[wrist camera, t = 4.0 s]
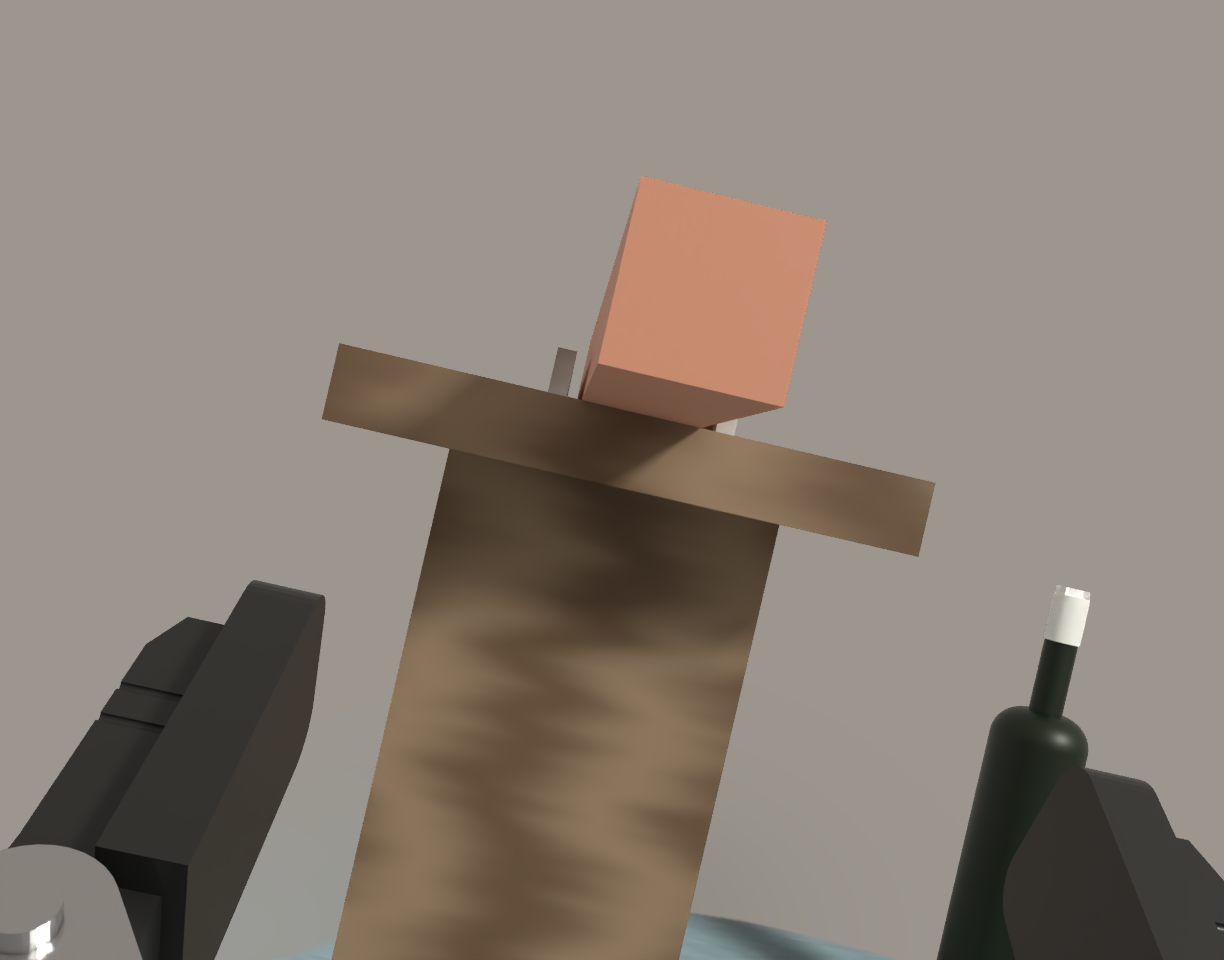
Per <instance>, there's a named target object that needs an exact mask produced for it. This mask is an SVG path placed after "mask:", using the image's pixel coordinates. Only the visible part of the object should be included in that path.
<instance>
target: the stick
mask: <svg viewBox="0 0 1224 960" xmlns="http://www.w3.org/2000/svg"><path fill="white" fill-rule="evenodd" d="M825 227H826V221H824V220H820V219H816V218H812V217H807V216H804V215H799V214H795V213H791V212H787V211H783V210H779V209H775V208H771V207H767V206H763V205H759V204H754V203H750V202H746V201H742V200H738V199H734V198H730V197H726V196H722V195H718V194H713V193H710V192H706V191H701V190H697V189H693V188H689V187H685V186H681V185H677V184H673V183H669V182H665V181H661V180H657V179H652V178H649V177H644V176H641V178H640V181H639V185H638V188H637V192H636V195H635V198H634V201H633V205H632V208H631V211H630V214H629V218H628V221H627V224H626V228H625V231H624V234H623V237H622V240H621V244H620V247H619V250H618V254H617V257H616V260H615V263H614V267H613V270H612V273H611V276H610V280H609V283H608V286H607V290H606V293H605V296H604V300H603V303H602V306H601V309H600V313H599V316H598V319H597V322H596V326H595V329H594V332H593V335H592V339H591V342H590V347H589V351H588V355H587V360H586V364H585V368H584V372H583V377H582V381H581V385H580V390H579V394H578V399H579V400H583V401H587V402H592V403H596V404H600V405H605V406H609V407H613V408H617V409H622V410H626V411H630V412H634V413H639V414H643V415H647V416H651V417H656V418H660V419H664V420H669V421H673V422H677V423H681V424H686V425H690V426H694V427H698V428H703V427H707V426H711V425H715V424H719V423H723V422H727V421H731V420H735V419H739V418H743V417H747V416H751V415H755V414H759V413H762V412H767V411H771V410H775V409H778V408H782V407H784V404H785V400H786V395H787V391H788V387H789V382H790V378H791V373H792V369H793V365H794V360H795V356H796V352H797V348H798V343H799V339H800V334H801V330H802V326H803V322H804V317H805V313H806V309H807V304H808V300H809V296H810V291H811V287H812V283H813V278H814V274H815V270H816V265H817V261H818V257H819V253H820V248H821V243H822V240H823V235H824V230H825Z"/></svg>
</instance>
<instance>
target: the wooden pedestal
mask: <svg viewBox="0 0 1224 960" xmlns="http://www.w3.org/2000/svg"><path fill="white" fill-rule="evenodd" d="M576 353H577V352H576V351H572V350H568V349H563V348H558V351H557V355H556V359H555V364H554V368H553V372H552V377H551V381H550V385H549V390H548V392H545V391H540V390H536V389H532V388H528V387H523V386H519V385H515V384H510V383H506V382H502V381H498V380H494V379H489V378H485V377H481V376H477V375H472V374H468V373H464V372H459V371H455V370H451V369H447V368H442V367H438V366H434V365H429V364H425V363H421V362H417V361H412V360H408V359H404V358H400V357H395V356H391V355H387V354H382V353H378V352H374V351H369V350H366V349H361V348H357V347H352V346H349V345H344V344H339V347H338V351H337V356H336V360H335V364H334V369H333V373H332V377H331V382H330V386H329V390H328V395H327V399H326V403H325V408H324V413H323V416H322V419H324V420H328V421H332V422H337V423H341V424H345V425H350V426H354V427H358V428H363V429H368V430H371V431H376V432H380V433H384V434H389V435H393V436H398V437H402V438H406V439H410V440H415V441H419V442H424V443H428V444H432V445H436V446H441V447H445V448H449V453H448V458H447V462H446V467H445V471H444V475H443V479H442V484H441V488H440V492H439V497H438V501H437V505H436V510H435V514H434V518H433V523H432V527H431V531H430V536H429V540H428V545H427V549H426V553H425V557H424V562H423V566H422V570H421V575H420V579H419V583H418V588H417V592H416V596H415V601H414V605H413V609H412V614H411V618H410V622H409V627H408V631H407V636H406V640H405V644H404V648H403V652H402V657H401V661H400V666H399V670H398V674H397V679H396V683H395V688H394V692H393V696H392V700H391V704H390V709H389V713H388V717H387V722H386V726H385V731H384V735H383V739H382V743H381V748H380V752H379V757H378V761H377V765H376V769H375V774H374V778H373V782H372V787H371V792H370V796H369V800H368V804H367V808H366V813H365V817H364V822H363V826H362V830H361V834H360V839H359V843H358V848H357V852H356V856H355V860H354V865H353V869H352V873H351V878H350V882H349V886H348V891H347V896H346V899H345V904H344V908H343V912H342V917H341V921H340V925H339V930H338V934H337V938H336V943H335V947H334V951H333V956H332V960H679V956H680V952H681V948H682V943H683V939H684V935H685V930H686V926H687V922H688V917H689V913H690V909H691V904H692V900H693V896H694V891H695V887H696V882H697V878H698V874H699V870H700V865H701V861H702V857H703V852H704V848H705V844H706V839H707V835H708V830H709V827H710V822H711V818H712V814H713V809H714V805H715V801H716V796H717V791H718V788H719V783H720V779H721V774H722V770H723V766H724V762H725V757H726V753H727V749H728V744H729V740H730V735H731V731H732V727H733V723H734V718H735V714H736V710H737V705H738V701H739V697H740V692H741V688H742V684H743V679H744V675H745V670H746V666H747V662H748V658H749V653H750V649H751V645H752V640H753V636H754V632H755V627H756V623H757V619H758V615H759V610H760V606H761V602H762V597H763V593H764V588H765V584H766V580H767V576H768V571H769V567H770V562H771V558H772V554H773V549H774V545H775V541H776V536H777V532H778V528H779V525H784V526H788V527H792V528H796V529H801V530H805V531H809V532H813V533H818V534H822V535H826V536H831V537H835V538H840V539H844V540H849V541H853V542H857V543H861V544H865V545H870V546H874V547H878V548H883V549H887V550H892V551H896V552H900V553H905V554H909V555H914V556H919V551H920V547H921V543H922V538H923V534H924V530H925V525H926V521H927V517H928V512H929V508H930V503H931V499H932V494H933V491H934V486H935V483H933V482H929V481H925V480H920V479H916V478H912V477H907V476H903V475H899V474H895V473H890V472H886V471H882V470H877V469H873V468H869V467H865V466H861V465H856V464H852V463H848V462H844V461H839V460H835V459H830V458H826V457H822V456H818V455H814V454H809V453H805V452H801V451H796V450H792V449H788V448H784V447H780V446H775V445H771V444H767V443H762V442H758V441H753V440H750V439H745V438H741V437H737V436H734V434H735V430H736V425H737V421H738V419H735V420H731V421H727V422H723V423H719V424H715V425H711V426H707V427H703V428H698V427H694V426H690V425H686V424H681V423H677V422H673V421H669V420H664V419H660V418H656V417H651V416H647V415H643V414H639V413H634V412H630V411H626V410H622V409H617V408H613V407H609V406H605V405H600V404H596V403H592V402H587V401H583V400H579V399H574V398H570V397H567V396H568V391H569V387H570V382H571V377H572V373H573V368H574V363H575V359H576Z"/></svg>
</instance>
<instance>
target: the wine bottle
mask: <svg viewBox="0 0 1224 960" xmlns="http://www.w3.org/2000/svg"><path fill="white" fill-rule="evenodd" d="M1090 594H1091V593H1089V592H1085V591H1081V590H1077V589H1072V588H1068V587H1064V586H1059V585H1057V587H1056V592H1054V594H1053V598H1052V603H1051V607H1050V611H1049V616H1048V620H1047V624H1046V628H1045V633H1044V638H1045V640H1044V644H1043V649H1042V653H1041V657H1040V662H1039V666H1038V670H1037V674H1036V679H1035V684H1034V687H1033V692H1032V696H1031V700H1030V705H1029V707H1027V706H1016V707H1011V708H1008V709H1006V710H1004V711H1002V712H1001V713H1000V714H998V715H997V717H996V718H995V719H994V721H993V723H992V725H991V728H990V732H989V736H988V741H987V745H986V749H985V754H984V758H983V762H982V767H981V771H980V775H979V779H978V784H977V788H976V793H975V797H974V801H973V805H972V810H971V814H970V819H969V823H968V827H967V831H966V836H965V840H964V844H963V849H962V853H961V857H960V862H959V866H958V870H957V875H956V879H955V883H954V887H953V892H952V896H951V900H950V905H949V909H948V913H947V918H946V922H945V926H944V931H943V935H942V939H941V944H940V948H939V952H938V957H937V960H1015V957H1014V953H1013V949H1012V945H1011V942H1010V938H1009V934H1008V931H1007V927H1006V923H1005V918H1004V911H1003V891H1004V883H1005V878H1006V874H1007V871H1008V868H1009V865H1010V862H1011V861H1012V859H1013V857H1014V855H1015V853H1016V851H1017V850H1018V848H1019V846H1020V845H1021V843H1022V841H1023V839H1024V838H1025V836H1026V834H1027V832H1028V831H1029V829H1030V827H1031V826H1032V824H1033V822H1034V820H1035V819H1036V817H1037V815H1038V814H1039V812H1040V810H1041V808H1042V807H1043V805H1044V803H1045V801H1046V800H1047V798H1048V796H1049V795H1050V793H1051V791H1052V789H1053V788H1054V786H1055V784H1056V782H1057V781H1058V779H1059V778H1060V776H1061V775H1062V774H1063V773H1064V772H1065V770H1067V769H1068V768H1070V767H1073V766H1080V767H1084V768H1085V765H1086V760H1087V756H1088V743H1087V739H1086V737H1085V735H1084V733H1083V731H1082V730H1081V729H1080V727H1079V726H1078V725H1077V724H1075V723H1074V722H1073V721H1071V720H1070V719H1068V718H1066V717H1064V716H1062V713H1063V709H1064V705H1065V701H1066V696H1067V692H1068V687H1069V683H1070V679H1071V675H1072V670H1073V666H1074V662H1075V657H1076V653H1077V648H1078V647H1080V643H1081V639H1082V635H1083V630H1084V626H1085V622H1086V617H1087V613H1088V609H1089V604H1090V600H1089V598H1090Z"/></svg>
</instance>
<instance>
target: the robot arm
mask: <svg viewBox="0 0 1224 960" xmlns="http://www.w3.org/2000/svg"><path fill="white" fill-rule="evenodd" d="M324 615H325V597H324V596H323V595H319V594H315V593H310V592H306V591H301V590H297V589H292V588H288V587H283V586H279V585H275V584H270V583H266V582H261V581H257V580H253V581H252V582H251V583H250V584H249V585H248V586H247V588H246V589H245V591H244V592H243V594H242V596H241V598H240V599H239V601H238V603H237V604H236V606H235V608H234V610H233V611H232V613H231V615H230V616H229V618H228V620H227V621H226V623H225V625H222V624H217V623H212V622H208V621H204V620H199V619H195V618H190V617H187V618H186V619H184V620H183V621H181V622H179V623H178V624H176V625H175V626H173V627H172V628H170V629H169V630H167V631H166V632H164V633H163V634H161V635H160V636H158V637H157V638H155V639H153V640H152V641H150V642H149V643H147V644H146V645H145V647H144V648H143V650H142V651H141V653H140V654H139V656H138V657H137V659H136V660H135V662H134V663H133V665H132V666H131V668H130V669H129V671H128V672H127V674H126V675H125V677H124V678H123V680H122V681H121V685H120V688H119V689H116V690H115V692H114V693H113V695H112V696H111V698H110V699H109V701H108V702H107V704H106V705H105V707H104V708H103V710H102V711H101V715H100V718H99V720H95V722H94V723H93V725H92V726H91V728H90V729H89V731H88V732H87V734H86V735H85V737H84V738H83V740H82V741H81V743H80V744H79V746H78V747H77V749H76V750H75V752H74V753H73V755H72V756H71V758H70V759H69V761H68V762H67V764H66V765H65V767H64V768H63V770H62V771H61V773H60V774H59V776H58V777H57V779H56V780H55V782H54V783H53V785H52V786H51V788H50V789H49V791H48V792H47V794H46V795H45V797H44V798H43V800H42V801H41V803H40V804H39V806H38V807H37V809H36V810H35V812H34V813H33V815H32V816H31V818H30V819H29V821H28V822H27V824H26V825H25V827H24V828H23V830H22V831H21V833H20V834H19V835H18V837H17V838H16V839H15V840H14V842H13V843H12V844H11V846H10V847H9V848H8V849H4V850H2V851H0V960H214V959H215V956H216V954H217V952H218V949H219V947H220V944H221V942H222V940H223V938H224V935H225V933H226V931H227V928H228V926H229V924H230V921H231V919H232V916H233V914H234V912H235V909H236V907H237V905H238V902H239V900H240V897H241V895H242V893H243V890H244V888H245V886H246V883H247V881H248V879H249V876H250V874H251V872H252V869H253V867H254V865H255V862H256V860H257V858H258V855H259V853H260V851H261V848H262V846H263V844H264V841H265V839H266V836H267V834H268V832H269V829H270V827H271V825H272V822H273V820H274V818H275V815H276V813H277V811H278V808H279V806H280V804H281V801H282V799H283V796H284V794H285V792H286V789H287V787H288V785H289V782H290V780H291V778H292V775H293V772H294V770H295V768H296V766H297V763H298V760H299V758H300V755H301V752H302V749H303V745H304V742H305V739H306V735H307V732H308V728H309V723H310V719H311V714H312V709H313V701H314V694H315V686H316V678H317V670H318V662H319V654H320V646H321V639H322V631H323V623H324ZM1003 911H1004V918H1005V923H1006V927H1007V931H1008V934H1009V938H1010V942H1011V945H1012V949H1013V953H1014V957H1015V960H1224V881H1223V879H1222V878H1221V877H1220V876H1219V875H1218V874H1217V872H1216V871H1215V870H1214V869H1213V868H1212V867H1211V866H1210V864H1209V863H1208V862H1207V861H1206V860H1205V859H1204V857H1202V855H1201V854H1200V853H1199V852H1198V851H1197V850H1196V848H1195V847H1194V846H1193V845H1192V844H1191V843H1190V841H1188V840H1184V839H1179V838H1176V837H1175V834H1174V832H1173V830H1172V828H1171V826H1170V823H1169V821H1168V819H1167V817H1166V815H1165V812H1164V810H1163V808H1162V806H1161V804H1160V802H1159V799H1158V797H1157V795H1156V793H1155V792H1154V790H1153V788H1152V787H1151V786H1150V785H1149V784H1148V783H1146V782H1144V781H1142V780H1138V779H1133V778H1129V777H1125V776H1120V775H1115V774H1111V773H1107V772H1102V771H1098V770H1093V769H1089V768H1084V767H1080V766H1073V767H1070V768H1068V769H1067V770H1065V772H1064V773H1063V774H1062V775H1061V776H1060V778H1059V779H1058V781H1057V782H1056V784H1055V786H1054V788H1053V789H1052V791H1051V793H1050V795H1049V796H1048V798H1047V800H1046V801H1045V803H1044V805H1043V807H1042V808H1041V810H1040V812H1039V814H1038V815H1037V817H1036V819H1035V820H1034V822H1033V824H1032V826H1031V827H1030V829H1029V831H1028V832H1027V834H1026V836H1025V838H1024V839H1023V841H1022V843H1021V845H1020V846H1019V848H1018V850H1017V851H1016V853H1015V855H1014V857H1013V859H1012V861H1011V862H1010V865H1009V868H1008V871H1007V874H1006V878H1005V883H1004V891H1003Z"/></svg>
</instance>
